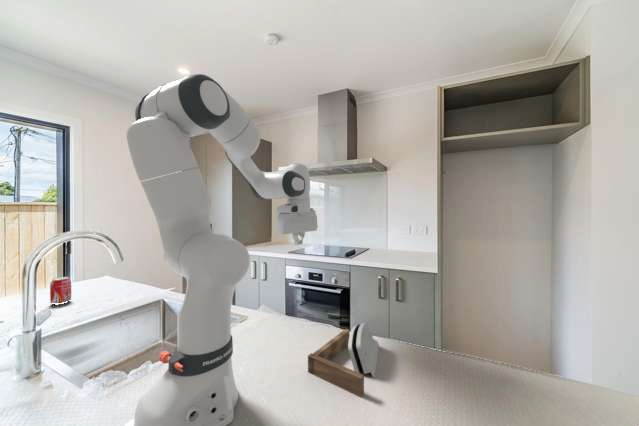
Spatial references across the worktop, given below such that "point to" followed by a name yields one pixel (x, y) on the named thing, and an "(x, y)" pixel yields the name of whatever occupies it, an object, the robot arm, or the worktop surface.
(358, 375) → the wooden corner bracket
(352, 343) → the white black-banded slab
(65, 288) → the soda can
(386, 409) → the worktop surface
